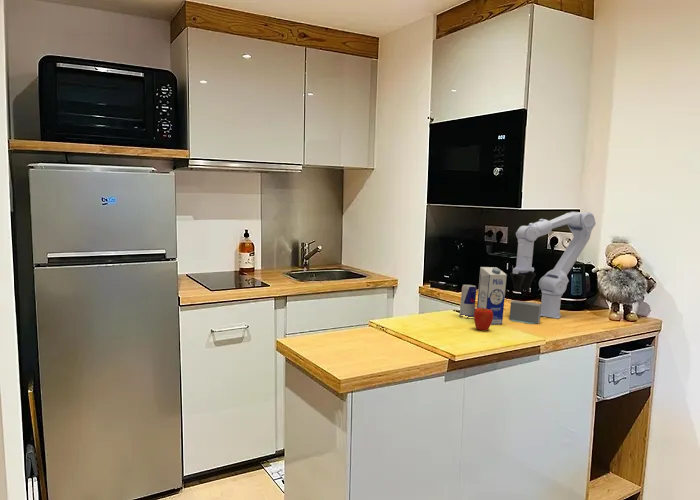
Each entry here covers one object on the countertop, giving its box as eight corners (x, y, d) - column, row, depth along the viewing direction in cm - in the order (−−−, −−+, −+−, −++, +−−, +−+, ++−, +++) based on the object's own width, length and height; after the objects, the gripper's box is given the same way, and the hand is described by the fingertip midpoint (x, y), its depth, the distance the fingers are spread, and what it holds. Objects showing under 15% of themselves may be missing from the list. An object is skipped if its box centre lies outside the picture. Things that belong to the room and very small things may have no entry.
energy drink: (474, 319, 193) (477, 287, 192) (459, 317, 194) (462, 286, 193) (473, 316, 199) (476, 285, 198) (459, 314, 200) (462, 284, 199)
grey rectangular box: (512, 317, 201) (513, 300, 201) (539, 321, 197) (541, 303, 196) (509, 319, 196) (510, 302, 196) (537, 324, 191) (539, 306, 191)
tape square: (514, 317, 202) (514, 316, 202) (536, 320, 198) (536, 320, 198) (510, 320, 195) (510, 320, 195) (532, 324, 191) (533, 323, 191)
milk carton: (491, 320, 194) (496, 266, 192) (502, 324, 188) (507, 269, 186) (475, 320, 192) (480, 266, 190) (485, 324, 185) (490, 268, 184)
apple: (493, 329, 178) (495, 308, 178) (490, 333, 173) (492, 310, 172) (474, 326, 181) (476, 305, 180) (471, 330, 175) (472, 308, 175)
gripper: (526, 258, 195) (523, 294, 196) (542, 257, 206) (539, 291, 207) (508, 256, 200) (505, 291, 201) (525, 255, 210) (522, 288, 211)
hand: (521, 291), depth 204 cm, fingers open, 7 cm apart
